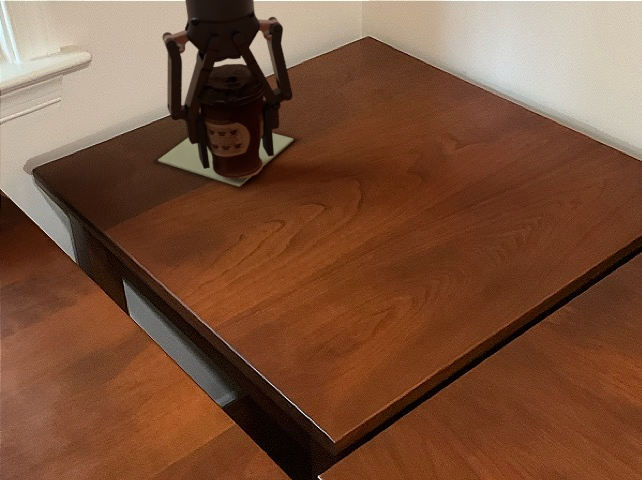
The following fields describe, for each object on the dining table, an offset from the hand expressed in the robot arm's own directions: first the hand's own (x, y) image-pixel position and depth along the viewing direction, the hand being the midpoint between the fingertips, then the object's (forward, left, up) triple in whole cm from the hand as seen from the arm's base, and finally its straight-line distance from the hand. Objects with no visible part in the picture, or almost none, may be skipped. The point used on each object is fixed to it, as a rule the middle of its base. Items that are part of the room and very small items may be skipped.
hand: (236, 156), depth 104 cm
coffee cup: (0, 0, -2) cm, 2 cm away
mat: (-5, +4, -3) cm, 7 cm away
